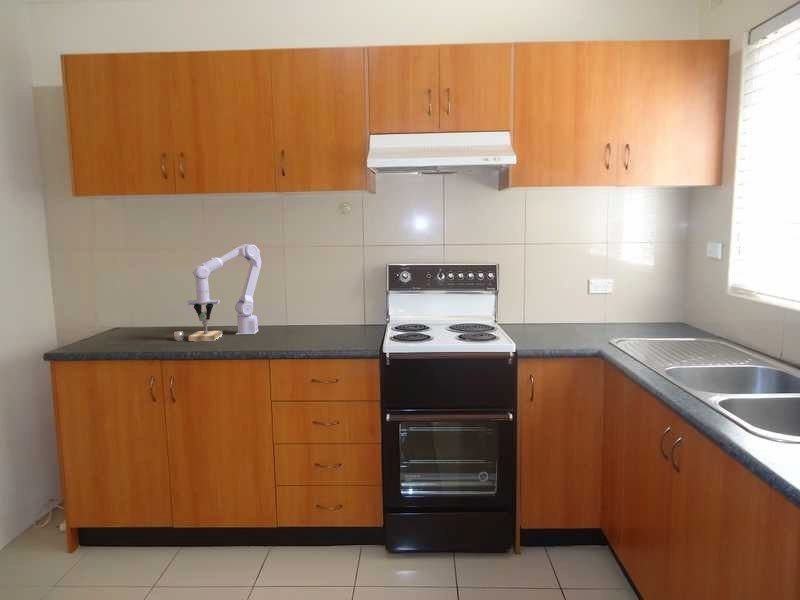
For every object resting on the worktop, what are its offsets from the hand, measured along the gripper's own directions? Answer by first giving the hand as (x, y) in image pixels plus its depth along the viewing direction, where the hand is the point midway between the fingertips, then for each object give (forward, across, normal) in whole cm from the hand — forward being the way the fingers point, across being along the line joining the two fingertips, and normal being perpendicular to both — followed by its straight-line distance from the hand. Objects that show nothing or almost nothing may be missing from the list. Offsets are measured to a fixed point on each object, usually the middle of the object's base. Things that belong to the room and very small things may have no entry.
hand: (204, 319), depth 260 cm
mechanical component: (+7, 0, 0) cm, 7 cm away
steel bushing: (+9, +12, +1) cm, 15 cm away
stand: (+9, 0, 0) cm, 9 cm away
